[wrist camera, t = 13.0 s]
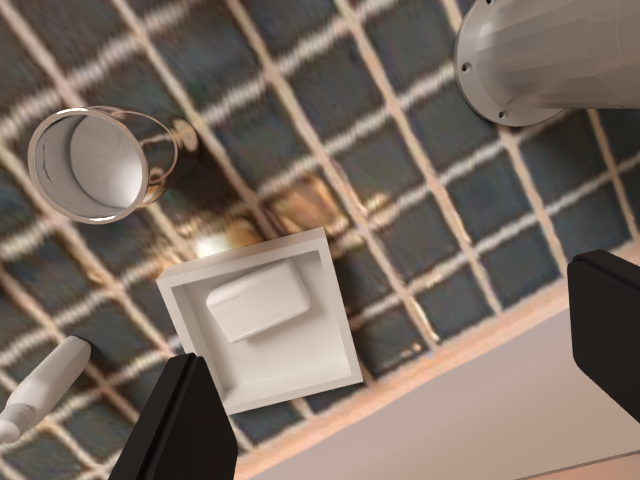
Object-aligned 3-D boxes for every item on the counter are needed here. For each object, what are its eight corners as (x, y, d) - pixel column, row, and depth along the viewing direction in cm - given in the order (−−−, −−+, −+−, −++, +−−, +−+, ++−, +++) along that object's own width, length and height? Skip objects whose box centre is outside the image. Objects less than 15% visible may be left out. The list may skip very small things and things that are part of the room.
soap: (288, 253, 41) (288, 263, 38) (312, 298, 43) (313, 312, 40) (208, 289, 42) (201, 302, 39) (234, 333, 43) (229, 348, 40)
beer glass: (214, 122, 37) (164, 130, 23) (194, 194, 39) (136, 243, 25) (136, 94, 36) (34, 83, 22) (119, 169, 38) (14, 205, 24)
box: (323, 226, 41) (325, 236, 37) (358, 361, 46) (363, 381, 42) (167, 266, 41) (155, 280, 38) (218, 396, 46) (212, 419, 43)
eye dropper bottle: (36, 352, 43) (-58, 440, 32) (81, 329, 43) (3, 409, 31) (62, 383, 44) (-18, 478, 33) (107, 361, 44) (40, 450, 32)
